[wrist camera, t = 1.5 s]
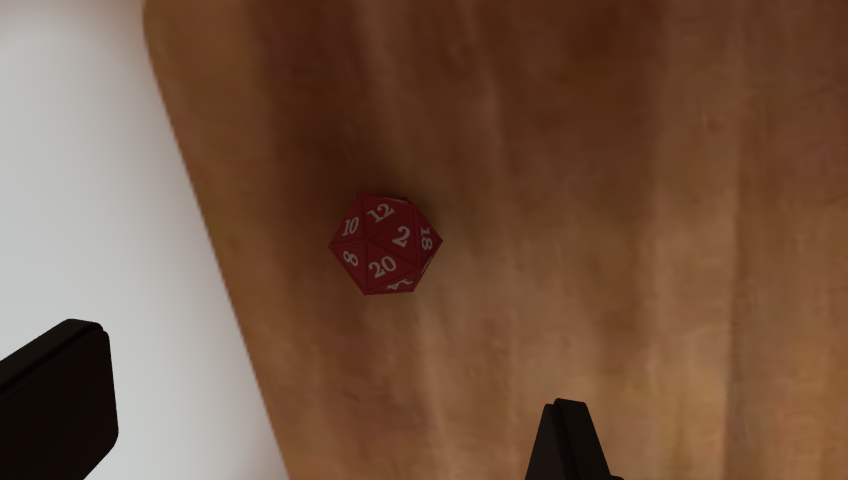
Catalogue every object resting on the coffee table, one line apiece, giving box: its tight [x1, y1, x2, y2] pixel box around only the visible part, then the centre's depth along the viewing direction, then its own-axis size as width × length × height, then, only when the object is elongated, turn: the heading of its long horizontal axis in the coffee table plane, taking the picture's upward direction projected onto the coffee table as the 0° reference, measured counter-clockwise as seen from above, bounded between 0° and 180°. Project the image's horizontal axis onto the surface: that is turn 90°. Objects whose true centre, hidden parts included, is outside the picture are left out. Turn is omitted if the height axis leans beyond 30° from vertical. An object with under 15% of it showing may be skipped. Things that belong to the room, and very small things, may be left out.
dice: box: [328, 193, 443, 295], centre depth 19 cm, size 4×4×4 cm
